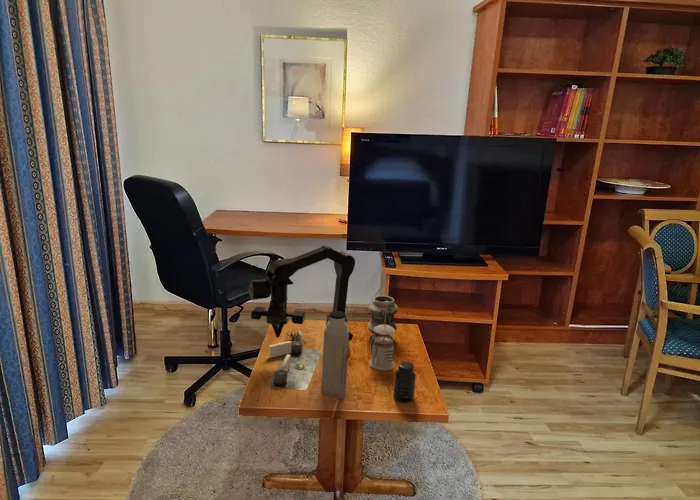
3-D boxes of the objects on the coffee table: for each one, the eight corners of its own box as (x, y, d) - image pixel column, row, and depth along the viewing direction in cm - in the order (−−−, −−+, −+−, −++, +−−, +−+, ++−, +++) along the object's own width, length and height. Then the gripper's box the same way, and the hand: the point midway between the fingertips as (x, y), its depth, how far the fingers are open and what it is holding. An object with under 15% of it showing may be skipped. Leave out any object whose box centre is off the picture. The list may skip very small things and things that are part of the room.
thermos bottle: (350, 391, 160) (354, 312, 153) (336, 402, 154) (341, 320, 147) (330, 383, 164) (334, 306, 157) (316, 393, 158) (320, 313, 151)
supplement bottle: (391, 391, 162) (394, 359, 159) (411, 392, 162) (414, 359, 159) (394, 403, 155) (398, 369, 152) (415, 403, 156) (419, 369, 153)
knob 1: (298, 347, 186) (299, 336, 185) (304, 351, 182) (304, 341, 181) (267, 354, 178) (267, 343, 177) (272, 359, 175) (272, 348, 174)
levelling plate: (322, 354, 185) (322, 349, 184) (306, 394, 157) (306, 388, 157) (289, 350, 186) (289, 345, 186) (267, 389, 158) (267, 384, 158)
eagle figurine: (281, 342, 191) (291, 347, 183) (289, 325, 192) (299, 330, 185) (296, 349, 195) (307, 354, 187) (303, 332, 196) (315, 337, 189)
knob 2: (285, 385, 158) (285, 373, 157) (272, 384, 159) (272, 372, 158) (294, 366, 171) (294, 355, 170) (282, 365, 171) (282, 353, 170)
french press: (400, 364, 181) (405, 301, 174) (380, 374, 172) (385, 309, 166) (379, 355, 187) (384, 294, 181) (360, 364, 179) (364, 301, 172)
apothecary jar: (376, 330, 209) (379, 291, 205) (400, 339, 202) (404, 298, 198) (361, 339, 200) (363, 298, 195) (385, 348, 193) (389, 306, 188)
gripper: (245, 301, 163) (245, 344, 167) (299, 307, 161) (298, 349, 165) (256, 291, 174) (255, 331, 178) (306, 296, 172) (305, 336, 176)
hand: (278, 337), depth 174 cm, fingers closed
